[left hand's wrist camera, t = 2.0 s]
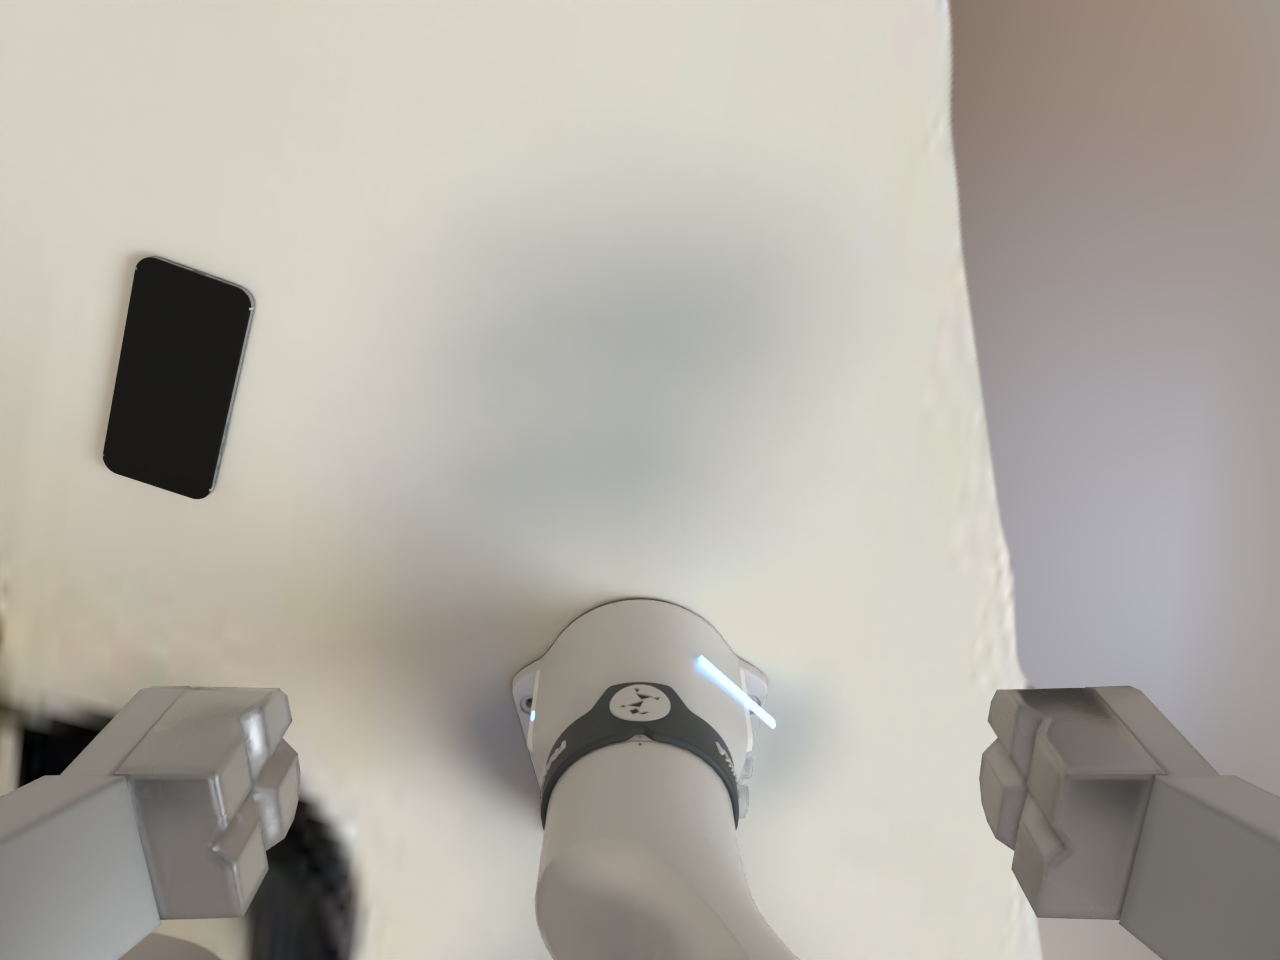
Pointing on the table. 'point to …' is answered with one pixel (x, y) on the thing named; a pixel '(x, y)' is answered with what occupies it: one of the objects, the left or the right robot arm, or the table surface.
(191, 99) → the table surface
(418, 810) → the table surface
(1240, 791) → the left robot arm
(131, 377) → the smartphone
